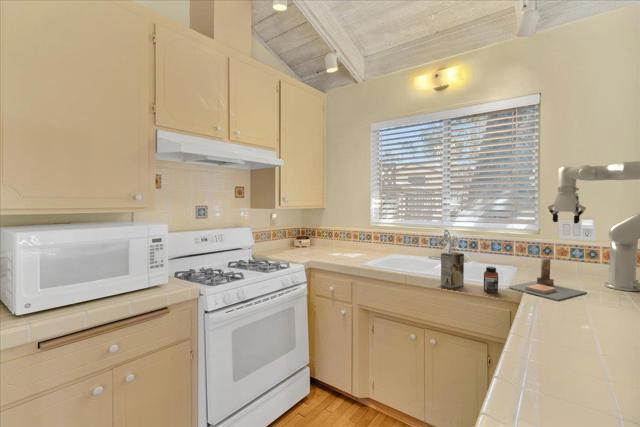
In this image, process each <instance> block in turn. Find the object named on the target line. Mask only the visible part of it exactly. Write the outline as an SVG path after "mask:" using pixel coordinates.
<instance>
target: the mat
mask: <svg viewBox="0 0 640 427" xmlns="http://www.w3.org/2000/svg"><path fill="white" fill-rule="evenodd" d="M535 284H537V280H534V281H529V282H523V283H520V284H519V283H518V284H513V285H510V286H507V287H509V288H511V289H510V290H512V289H515V290H514V291H516V290H519V291H518V292H520V291H521V292H520V293H524V292H525V294H529V295H532V296H536V297H540V298H544V299H547V300H551V301H556V302H559V301H563V300H567V299H570V298H574V297H579V296H582V295H587V293H588V292H586V291H585V290H584V291H583V290H580V289H579V290H578V289H574V288H569V287H564V286H561V285H555V284H554V285H553V286H549V287H554V288H556V292H551V293H547V294H541V293H537V292H533V291H529V290H525V287H526V286H530V285H535ZM540 285H542V284H540ZM545 286H546V285H545Z"/></svg>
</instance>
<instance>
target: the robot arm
mask: <svg viewBox="0 0 640 427" xmlns="http://www.w3.org/2000/svg"><path fill="white" fill-rule="evenodd" d="M577 180H580V181H586V182H588V181H589V182H591V181H593V182H594V181H626V180H627V181H628V180H629V181H630V180H632V181H633V180H635V181H636V180H640V160H639V161H638V160H637V161H624V162H618V163H616V164H615V163H614V164H609V165H594V166H591V165H585V164H584V165H578V166H563V167H559V169H558V183H557V193H556V194H555V197H554V203H553V204H550V205H549V206H547V209H548V211H549V213H551V215H552V222H553V223H558V222H559V215H558V214H559V213H560V212H561V213H573V214H574V215H573V224H579V222H580V217H581V216H582V214H583V213H584V212H585V211H586V209H587V207H585V205H581V204H580V199H579V194H578V192H577V191H580V190H579V189H580V188H579V187H577ZM608 236H609V237H608V238H610V244H609V261H608V264H609V267H608V268H609V269H608V281H607V282H604V283H603V285H604V287H606V288H609V289H613V290H619V291H623V292H624V291H625V292H638V291H640V282H639V279H636V278H637V265H638V264H637V260H638V245H639V239H640V211H639V212H637V213H636V214H634V215H632V216H629V217H628V218H625V219H623V220H622V221H620V222H618V223H615V224H614V225H612V226H611V227H610V229H608Z"/></svg>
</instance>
